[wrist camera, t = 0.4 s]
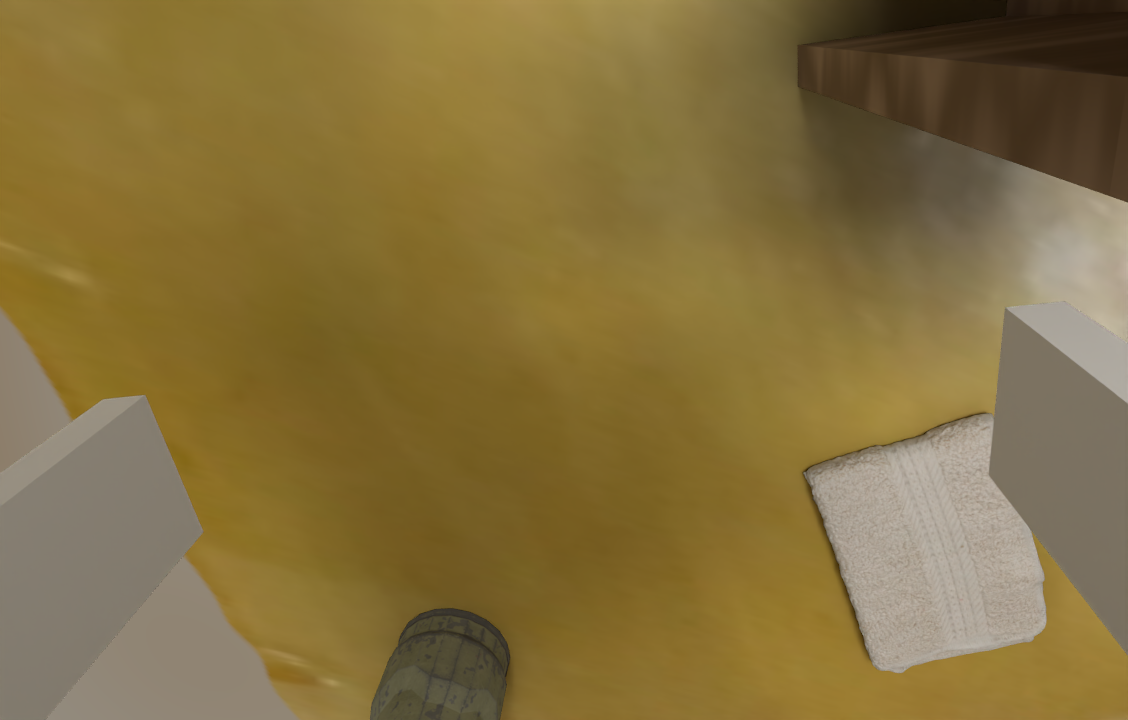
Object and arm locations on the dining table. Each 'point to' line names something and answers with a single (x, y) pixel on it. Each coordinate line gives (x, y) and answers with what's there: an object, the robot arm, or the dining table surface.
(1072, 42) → the walnut stand
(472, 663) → the thermos
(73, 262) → the dining table surface
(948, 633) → the washcloth
